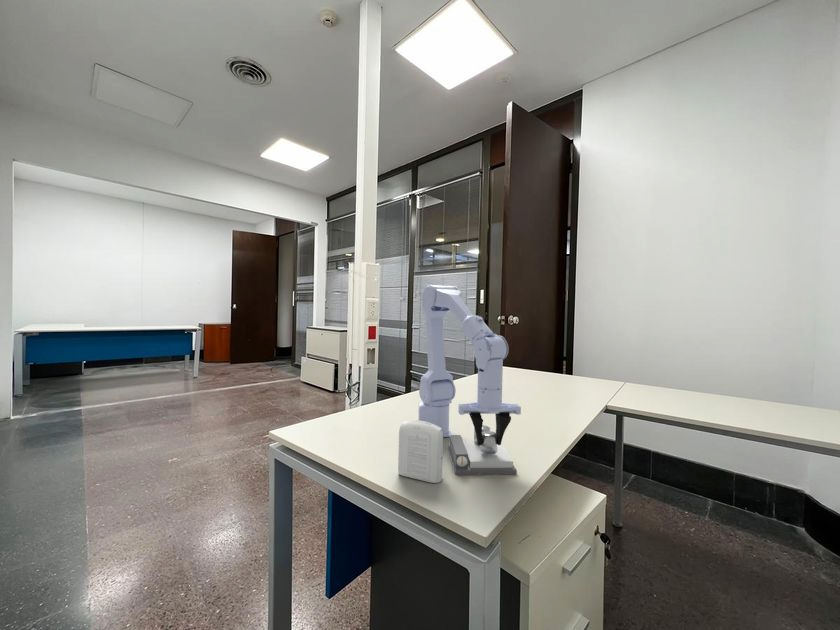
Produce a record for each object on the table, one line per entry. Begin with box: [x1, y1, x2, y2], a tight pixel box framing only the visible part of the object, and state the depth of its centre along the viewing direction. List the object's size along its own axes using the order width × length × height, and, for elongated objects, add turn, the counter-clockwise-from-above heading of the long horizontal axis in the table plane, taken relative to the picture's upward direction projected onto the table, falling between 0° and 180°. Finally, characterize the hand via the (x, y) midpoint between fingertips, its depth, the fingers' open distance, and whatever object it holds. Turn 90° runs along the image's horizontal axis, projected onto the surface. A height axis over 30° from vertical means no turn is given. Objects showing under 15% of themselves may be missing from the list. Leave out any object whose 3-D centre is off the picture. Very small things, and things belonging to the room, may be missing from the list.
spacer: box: [480, 430, 497, 455], centre depth 78 cm, size 4×4×4 cm
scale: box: [447, 434, 518, 476], centre depth 81 cm, size 14×13×4 cm
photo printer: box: [397, 419, 444, 484], centre depth 73 cm, size 10×4×12 cm, turn 69°
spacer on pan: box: [473, 424, 491, 446], centre depth 85 cm, size 4×4×4 cm
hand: (488, 443), depth 78 cm, fingers closed on spacer, 4 cm apart
